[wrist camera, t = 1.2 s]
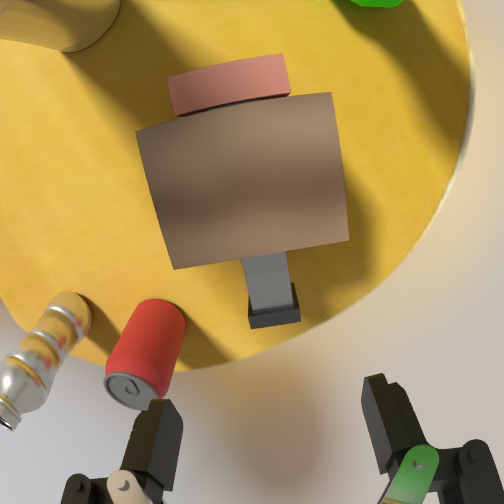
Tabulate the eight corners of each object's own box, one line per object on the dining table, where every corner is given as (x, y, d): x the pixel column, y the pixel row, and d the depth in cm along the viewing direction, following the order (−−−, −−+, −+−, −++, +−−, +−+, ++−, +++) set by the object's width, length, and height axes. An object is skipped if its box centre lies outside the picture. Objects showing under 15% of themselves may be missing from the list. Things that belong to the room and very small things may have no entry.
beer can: (189, 302, 33) (164, 382, 22) (185, 343, 35) (164, 420, 24) (135, 290, 32) (93, 361, 21) (136, 332, 35) (103, 402, 24)
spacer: (190, 90, 20) (166, 77, 14) (274, 73, 19) (282, 53, 13) (196, 118, 21) (174, 115, 15) (280, 102, 20) (291, 92, 14)
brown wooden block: (188, 128, 25) (135, 131, 13) (295, 107, 24) (331, 92, 12) (206, 208, 28) (173, 270, 16) (309, 190, 27) (349, 240, 16)
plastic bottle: (102, 302, 33) (23, 427, 15) (91, 334, 35) (28, 447, 17) (62, 276, 32) (-31, 383, 13) (55, 310, 34) (-19, 411, 16)
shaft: (203, 80, 18) (192, 70, 14) (256, 69, 17) (256, 57, 14) (251, 301, 25) (251, 329, 22) (295, 294, 25) (301, 321, 21)
